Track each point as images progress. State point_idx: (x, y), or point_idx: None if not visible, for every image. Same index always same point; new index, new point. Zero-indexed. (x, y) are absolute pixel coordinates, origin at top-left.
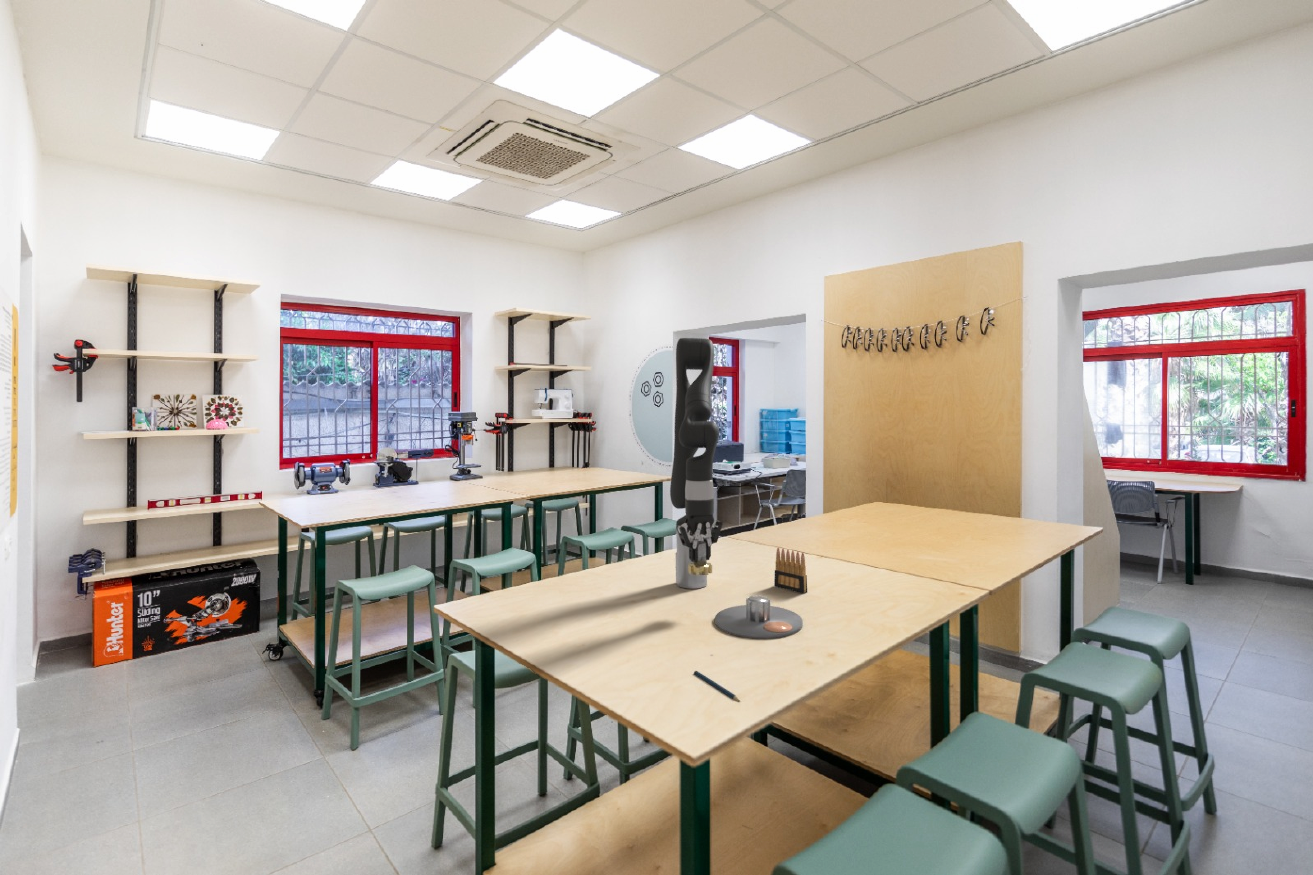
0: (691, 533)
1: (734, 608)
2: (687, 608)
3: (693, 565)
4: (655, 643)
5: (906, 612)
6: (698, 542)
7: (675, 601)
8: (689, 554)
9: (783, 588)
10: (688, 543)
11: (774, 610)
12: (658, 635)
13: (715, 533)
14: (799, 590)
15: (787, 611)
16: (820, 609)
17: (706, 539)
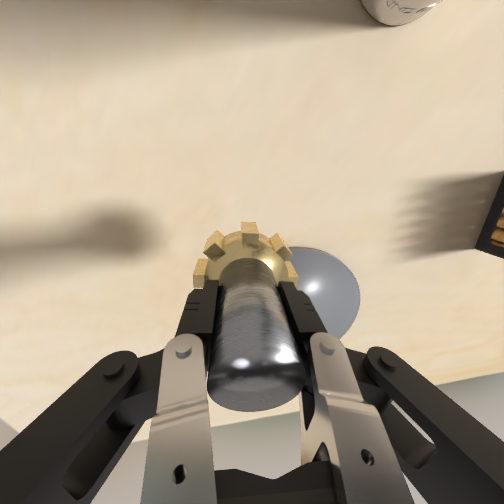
0: (187, 475)
1: (298, 259)
2: (232, 176)
3: (215, 277)
4: (82, 298)
5: (449, 365)
6: (250, 379)
7: (239, 98)
8: (183, 312)
9: (495, 199)
10: (120, 430)
11: (340, 302)
12: (99, 274)
13: (409, 475)
14: (483, 241)
15: (350, 314)
16: (403, 315)
17: (302, 424)
